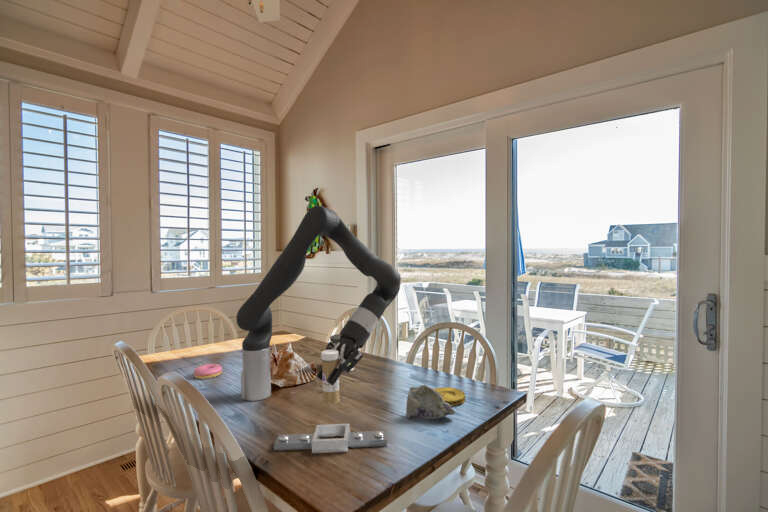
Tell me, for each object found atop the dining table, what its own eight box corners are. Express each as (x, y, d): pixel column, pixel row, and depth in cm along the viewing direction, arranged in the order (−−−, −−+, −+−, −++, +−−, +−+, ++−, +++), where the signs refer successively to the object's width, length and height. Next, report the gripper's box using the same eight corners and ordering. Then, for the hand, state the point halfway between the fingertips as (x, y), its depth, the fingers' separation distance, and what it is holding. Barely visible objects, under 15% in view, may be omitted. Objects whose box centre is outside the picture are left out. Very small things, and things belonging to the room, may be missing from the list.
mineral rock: (457, 419, 111) (456, 385, 111) (434, 432, 103) (433, 396, 103) (423, 407, 120) (422, 376, 120) (400, 418, 113) (399, 385, 112)
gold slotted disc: (440, 410, 118) (440, 403, 118) (423, 396, 129) (422, 390, 129) (472, 403, 122) (472, 397, 122) (452, 391, 133) (452, 385, 133)
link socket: (312, 453, 94) (311, 441, 94) (317, 435, 103) (316, 424, 103) (347, 451, 94) (347, 439, 94) (349, 434, 103) (349, 423, 103)
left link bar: (273, 450, 95) (273, 442, 95) (278, 440, 100) (278, 432, 100) (313, 449, 96) (313, 440, 96) (316, 439, 101) (315, 431, 101)
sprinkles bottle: (319, 402, 98) (317, 351, 98) (332, 397, 102) (330, 347, 101) (330, 406, 95) (329, 354, 95) (343, 401, 99) (342, 350, 98)
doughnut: (207, 381, 149) (207, 371, 149) (187, 378, 153) (187, 368, 153) (228, 373, 159) (228, 363, 159) (209, 370, 163) (208, 361, 163)
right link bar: (348, 447, 96) (348, 439, 96) (349, 437, 101) (349, 429, 101) (387, 446, 96) (386, 437, 96) (386, 436, 101) (386, 428, 101)
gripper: (336, 316, 108) (301, 367, 100) (368, 322, 98) (330, 380, 90) (352, 331, 112) (318, 381, 104) (383, 339, 101) (349, 395, 93)
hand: (324, 380), depth 97 cm, fingers closed on sprinkles bottle, 4 cm apart
